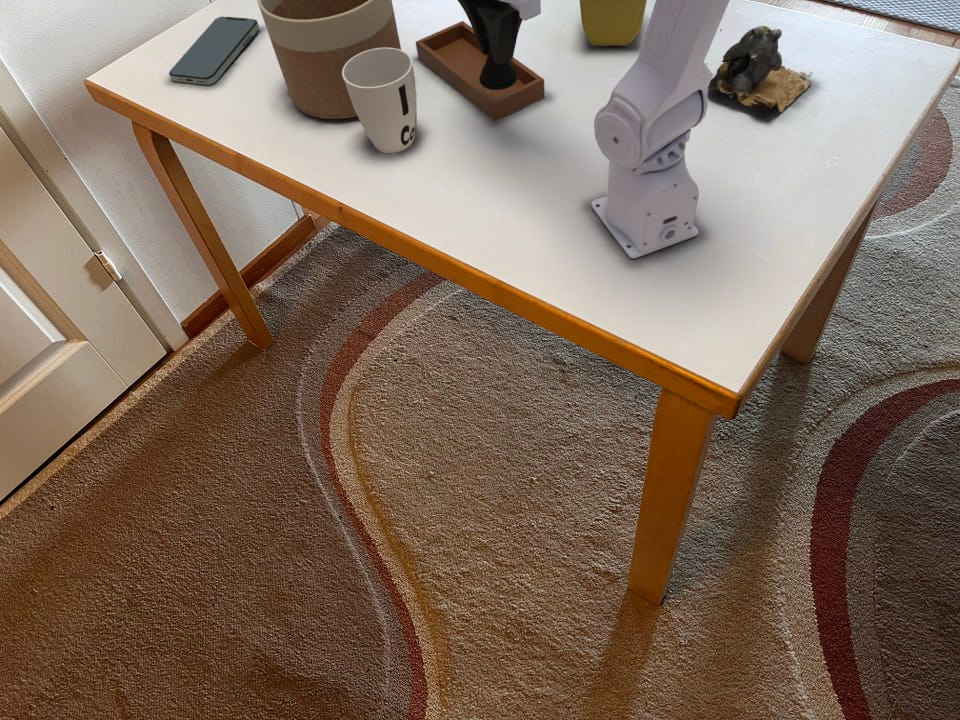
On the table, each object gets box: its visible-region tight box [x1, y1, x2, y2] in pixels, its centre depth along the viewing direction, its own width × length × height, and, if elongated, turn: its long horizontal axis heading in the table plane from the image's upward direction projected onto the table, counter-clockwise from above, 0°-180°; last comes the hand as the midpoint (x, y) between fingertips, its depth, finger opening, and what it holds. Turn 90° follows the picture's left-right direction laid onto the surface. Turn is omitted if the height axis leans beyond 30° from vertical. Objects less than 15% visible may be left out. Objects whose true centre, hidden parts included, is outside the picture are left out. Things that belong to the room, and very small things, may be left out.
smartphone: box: [168, 16, 260, 86], centre depth 105 cm, size 8×2×15 cm
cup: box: [342, 48, 418, 154], centre depth 86 cm, size 8×8×10 cm
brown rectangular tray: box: [415, 20, 546, 123], centre depth 95 cm, size 19×8×3 cm, turn 34°
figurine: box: [705, 25, 814, 119], centre depth 84 cm, size 10×10×10 cm
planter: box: [257, 0, 402, 120], centre depth 92 cm, size 16×16×14 cm
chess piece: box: [479, 0, 517, 90], centre depth 79 cm, size 4×4×10 cm
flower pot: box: [579, 0, 648, 47], centre depth 95 cm, size 9×9×9 cm
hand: (496, 55), depth 81 cm, fingers closed on chess piece, 2 cm apart
